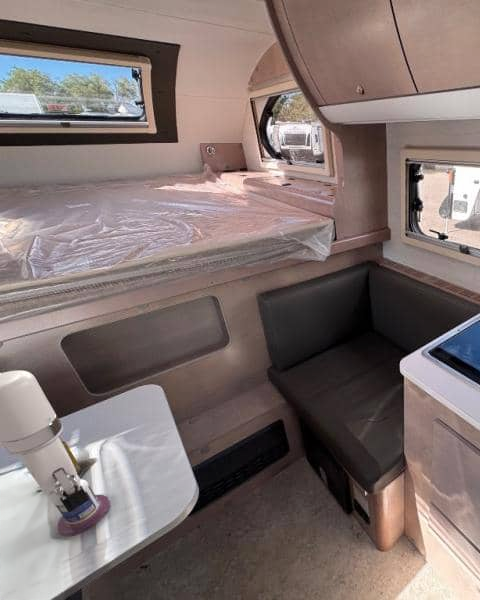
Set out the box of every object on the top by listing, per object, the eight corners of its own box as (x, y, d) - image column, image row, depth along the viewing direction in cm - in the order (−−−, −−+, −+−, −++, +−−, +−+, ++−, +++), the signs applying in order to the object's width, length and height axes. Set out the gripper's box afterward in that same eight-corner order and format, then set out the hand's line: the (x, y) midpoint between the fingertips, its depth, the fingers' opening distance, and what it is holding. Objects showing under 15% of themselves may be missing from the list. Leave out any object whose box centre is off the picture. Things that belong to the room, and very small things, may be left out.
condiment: (36, 490, 76) (10, 454, 70) (68, 459, 83) (47, 424, 78) (68, 489, 76) (45, 454, 71) (98, 458, 83) (79, 424, 78)
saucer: (66, 544, 65) (65, 542, 65) (52, 521, 69) (50, 519, 69) (116, 509, 72) (115, 506, 72) (101, 490, 76) (99, 487, 75)
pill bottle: (73, 505, 72) (54, 476, 67) (103, 496, 74) (86, 467, 69) (62, 529, 67) (40, 499, 63) (94, 519, 69) (75, 489, 65)
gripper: (-10, 426, 61) (31, 486, 69) (16, 470, 53) (60, 533, 60) (44, 403, 67) (77, 460, 74) (76, 439, 59) (109, 499, 66)
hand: (70, 492), depth 67 cm, fingers open, 9 cm apart
